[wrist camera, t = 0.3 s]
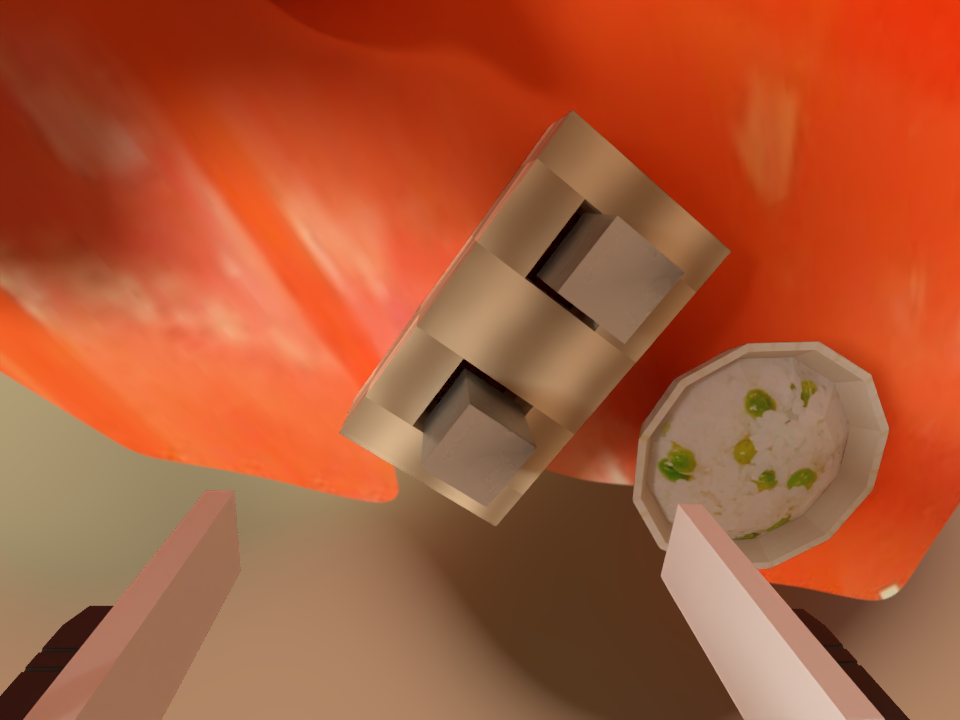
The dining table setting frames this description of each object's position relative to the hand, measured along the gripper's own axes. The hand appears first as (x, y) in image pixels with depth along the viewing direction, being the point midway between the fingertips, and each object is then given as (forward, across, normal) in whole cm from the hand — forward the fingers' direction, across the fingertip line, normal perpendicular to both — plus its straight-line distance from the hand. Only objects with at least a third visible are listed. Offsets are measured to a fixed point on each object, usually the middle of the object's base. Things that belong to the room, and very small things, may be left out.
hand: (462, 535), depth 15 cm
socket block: (+27, +6, 0) cm, 27 cm away
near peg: (+20, +9, +6) cm, 23 cm away
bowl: (+27, +23, -7) cm, 36 cm away
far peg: (+20, +2, -5) cm, 21 cm away
